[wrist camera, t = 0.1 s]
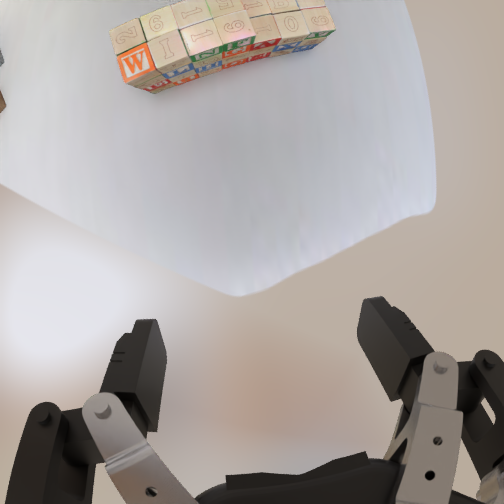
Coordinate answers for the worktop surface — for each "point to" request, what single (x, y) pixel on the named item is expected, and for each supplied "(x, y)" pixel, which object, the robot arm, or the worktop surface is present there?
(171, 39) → the stack of blocks
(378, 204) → the worktop surface
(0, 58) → the slate block
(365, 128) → the worktop surface
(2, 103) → the walnut block
